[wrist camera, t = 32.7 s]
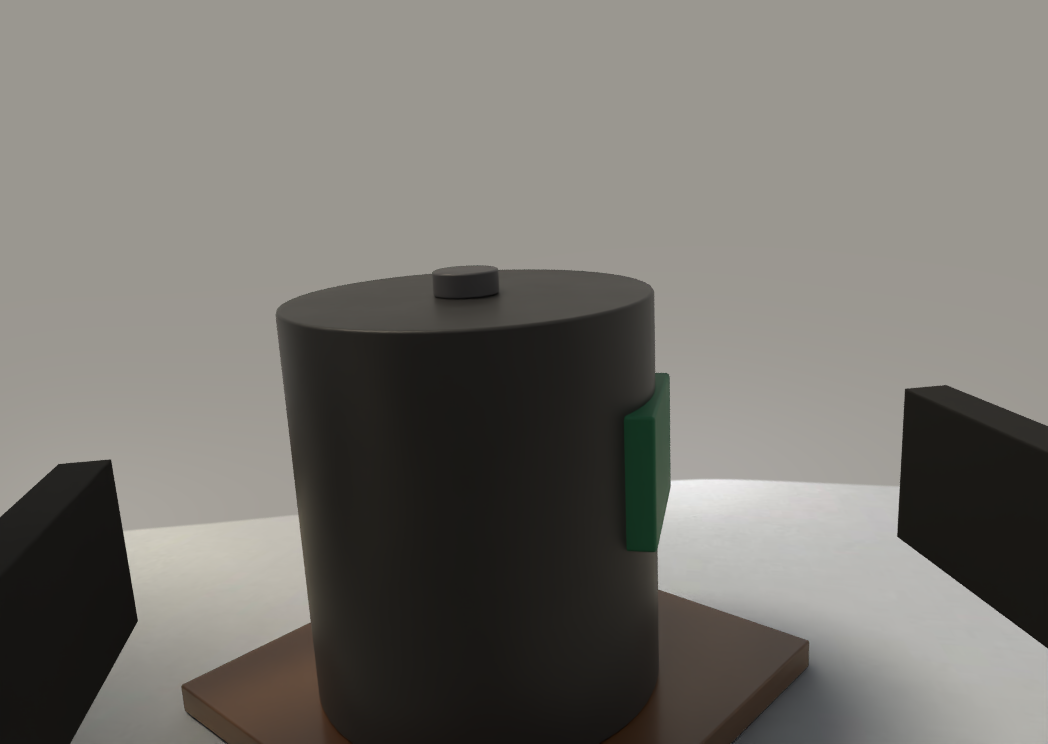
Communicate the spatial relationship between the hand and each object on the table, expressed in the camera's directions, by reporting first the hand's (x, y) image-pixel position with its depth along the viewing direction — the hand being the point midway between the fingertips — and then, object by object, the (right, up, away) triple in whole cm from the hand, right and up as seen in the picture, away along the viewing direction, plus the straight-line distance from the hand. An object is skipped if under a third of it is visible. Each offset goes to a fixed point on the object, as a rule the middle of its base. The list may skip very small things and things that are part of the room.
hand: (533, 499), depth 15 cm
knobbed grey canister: (-1, -6, +9) cm, 11 cm away
